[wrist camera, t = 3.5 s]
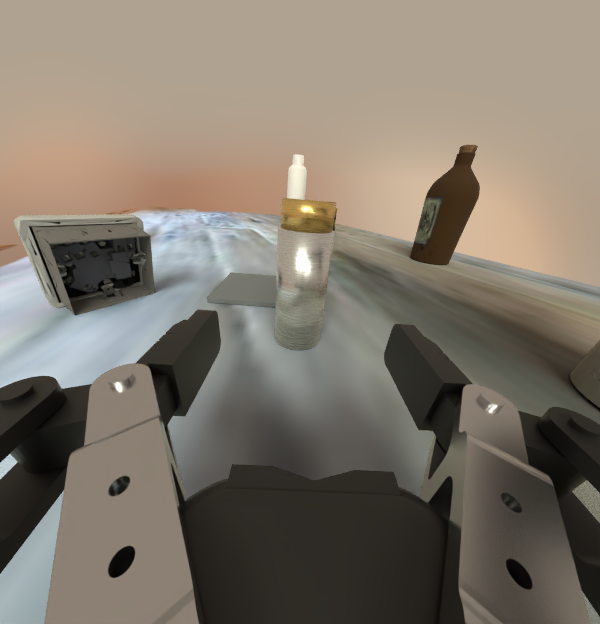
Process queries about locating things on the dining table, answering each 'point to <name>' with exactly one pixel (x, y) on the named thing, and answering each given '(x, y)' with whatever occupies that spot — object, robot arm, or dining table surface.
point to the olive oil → (447, 211)
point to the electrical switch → (88, 258)
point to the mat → (246, 290)
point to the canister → (302, 271)
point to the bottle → (297, 178)
